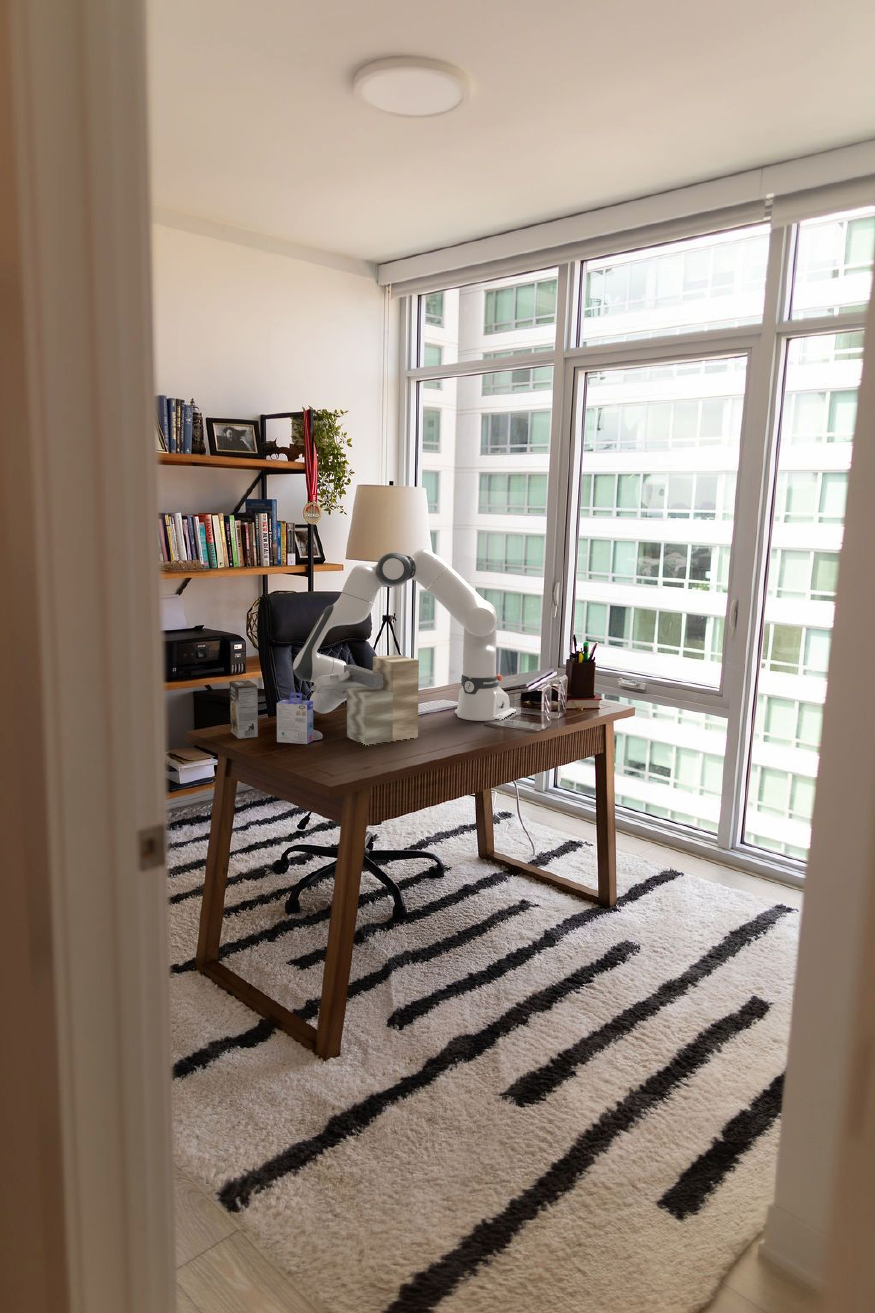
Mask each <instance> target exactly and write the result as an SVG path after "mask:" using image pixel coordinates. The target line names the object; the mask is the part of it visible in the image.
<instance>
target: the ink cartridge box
mask: <svg viewBox="0 0 875 1313" xmlns="http://www.w3.org/2000/svg"><path fill="white" fill-rule="evenodd" d="M293 696H298V697H293ZM302 698H303V692H290V696H289V699H281V700H279V701H278V702H276V742H277V743H284V744H285V743H286V744H288V743H289V744H301V745H308V744H309V743H311V742H313V741H314V709H313V701H310V700H303V699H302Z"/></svg>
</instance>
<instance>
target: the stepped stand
mask: <svg viewBox="0 0 875 1313" xmlns="http://www.w3.org/2000/svg"><path fill="white" fill-rule="evenodd" d="M419 665H420V661H419V659H417V658H416V659H415V658H411V657H409V656H404V655H401V654H392V655H381V656H379V655H378V656H372V671H375V672H378V673H381V674H383V688H371V687H368V686H366V687H357V688H348V689H347V700H346V737H347V738H349V739H351V740H353V741H355V742H357V743H359V742H361V743H363V744H362V745H364V744H365V745H364V746H366V745H368V746H370V745H369V744H374V745H377V744H376V743H381V742H388V743H391V742H390V741H394V742H397V741H396V740H401V741H404V740H403V739H407V740H411V739H410V738H414V739H418V738H419V689H420V688H419V683H420V682H419V681H420V680H419V676H420V675H419V674H420V670H419V669H420V668H419V667H420V666H419ZM417 737H418V738H417ZM361 743H360V744H361ZM381 744H382V743H381Z"/></svg>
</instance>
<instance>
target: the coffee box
mask: <svg viewBox="0 0 875 1313" xmlns="http://www.w3.org/2000/svg"><path fill="white" fill-rule="evenodd" d="M228 683H229V708H230V709H229V710H230V711H229V713H230V715H229V716H230V733H232V735H234V736H235V737H236V738H237V739H247V738H248V739H251V738H258V737H259V728H258V727H259V725H258V724H259V722H258V720H259V718H258V717H259V714H258V713H259V712H258V709H259V708H258V705H259V704H258V685H257V684H256V683H254V682H253V681H251V680H250V679H249V680H230V681H228Z"/></svg>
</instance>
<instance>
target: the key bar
mask: <svg viewBox="0 0 875 1313" xmlns="http://www.w3.org/2000/svg"><path fill="white" fill-rule="evenodd" d="M346 671H351V672H352V676H351V677H350V678H347V679H348V680H351V681H354V682H357V683H360V684H363V685H365V686H368V687H371V688H383V674H381V673H378V672H375V671H373V670H370V669H368V668H364V667H361V666H358V665H355V664H347V665H344V673H345V672H346Z"/></svg>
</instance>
